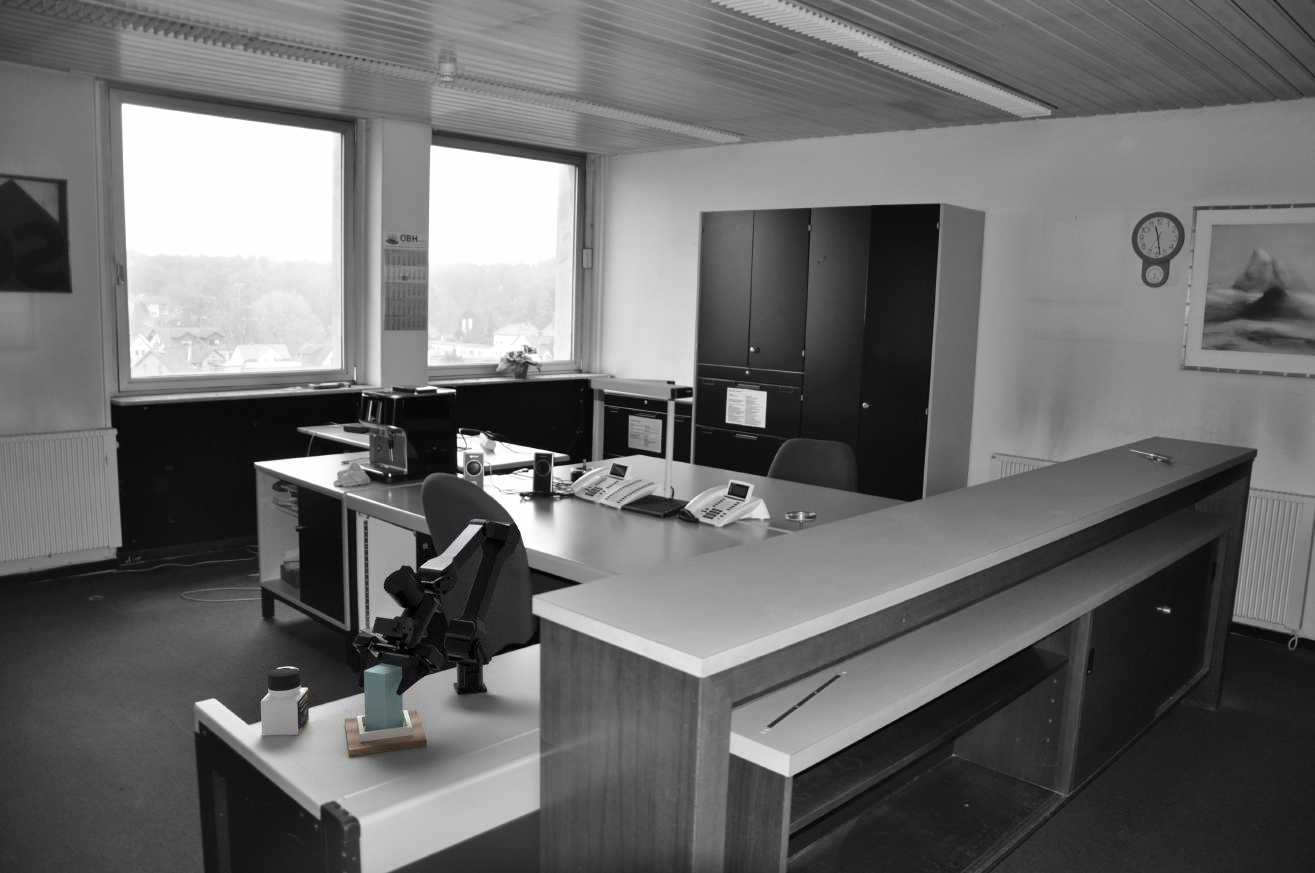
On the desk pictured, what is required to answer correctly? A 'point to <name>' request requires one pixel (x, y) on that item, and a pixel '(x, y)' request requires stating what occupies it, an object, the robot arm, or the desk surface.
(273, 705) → the medicine bottle
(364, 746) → the wooden tray with frame
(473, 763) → the desk surface
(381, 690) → the pale blue tall block
